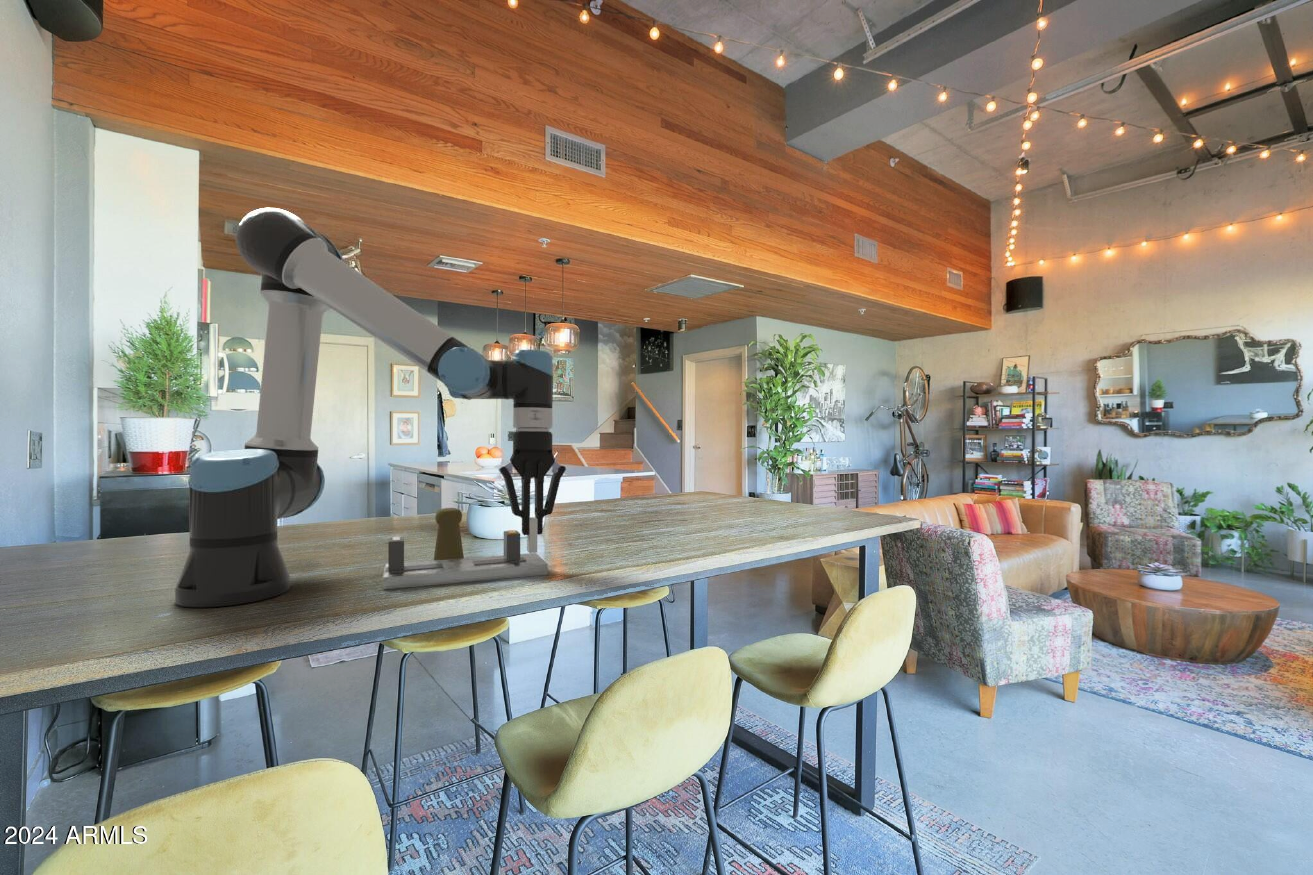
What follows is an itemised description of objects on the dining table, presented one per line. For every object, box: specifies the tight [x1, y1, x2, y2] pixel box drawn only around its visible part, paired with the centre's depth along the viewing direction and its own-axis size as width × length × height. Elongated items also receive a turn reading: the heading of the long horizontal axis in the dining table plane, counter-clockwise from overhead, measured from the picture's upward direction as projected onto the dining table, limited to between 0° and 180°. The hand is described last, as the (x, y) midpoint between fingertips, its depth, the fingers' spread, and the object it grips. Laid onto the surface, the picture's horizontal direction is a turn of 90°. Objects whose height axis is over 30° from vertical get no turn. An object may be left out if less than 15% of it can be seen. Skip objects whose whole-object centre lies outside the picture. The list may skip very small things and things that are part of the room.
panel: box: [382, 552, 549, 590], centre depth 110 cm, size 28×11×2 cm, turn 113°
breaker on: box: [387, 536, 405, 571], centre depth 105 cm, size 2×4×5 cm, turn 23°
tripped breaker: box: [503, 529, 521, 561], centre depth 113 cm, size 2×4×5 cm, turn 23°
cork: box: [433, 507, 465, 561], centre depth 121 cm, size 6×6×11 cm
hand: (532, 551), depth 115 cm, fingers closed
